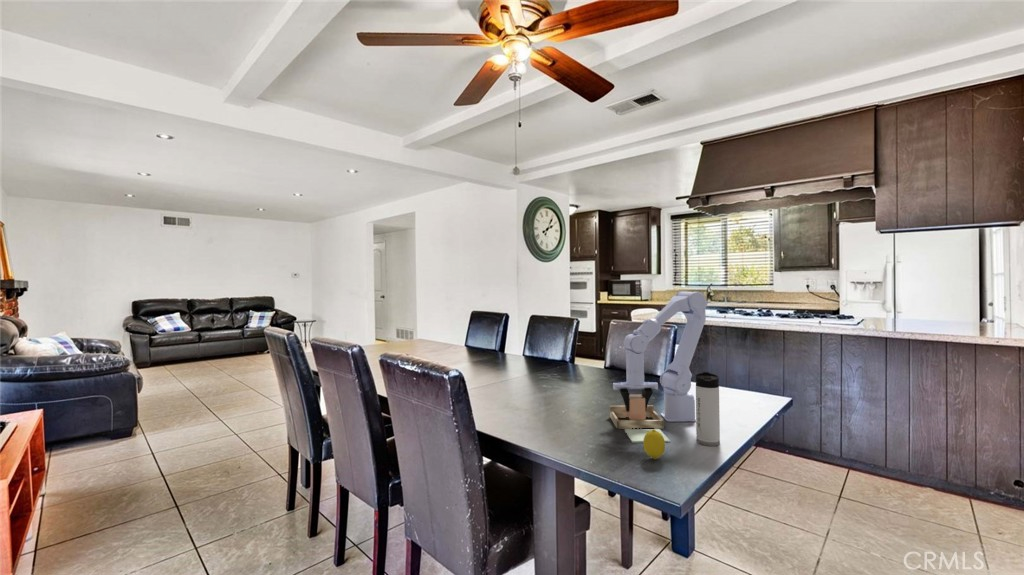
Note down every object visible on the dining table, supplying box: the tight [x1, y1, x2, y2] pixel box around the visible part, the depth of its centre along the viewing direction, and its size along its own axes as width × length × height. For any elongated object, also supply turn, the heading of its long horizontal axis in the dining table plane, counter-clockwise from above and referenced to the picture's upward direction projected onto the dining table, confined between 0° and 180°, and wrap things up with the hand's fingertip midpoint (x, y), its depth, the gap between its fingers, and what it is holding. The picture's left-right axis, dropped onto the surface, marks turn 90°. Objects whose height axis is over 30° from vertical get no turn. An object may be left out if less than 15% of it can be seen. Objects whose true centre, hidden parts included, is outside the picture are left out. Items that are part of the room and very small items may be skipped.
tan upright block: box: [627, 394, 647, 420], centre depth 146 cm, size 5×5×7 cm
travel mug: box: [695, 371, 721, 447], centre depth 128 cm, size 6×7×20 cm
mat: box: [624, 428, 671, 444], centre depth 133 cm, size 11×10×1 cm
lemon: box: [642, 428, 666, 460], centre depth 116 cm, size 6×6×8 cm
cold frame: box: [609, 404, 665, 430], centre depth 146 cm, size 15×12×4 cm
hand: (635, 410), depth 146 cm, fingers closed on tan upright block, 5 cm apart
